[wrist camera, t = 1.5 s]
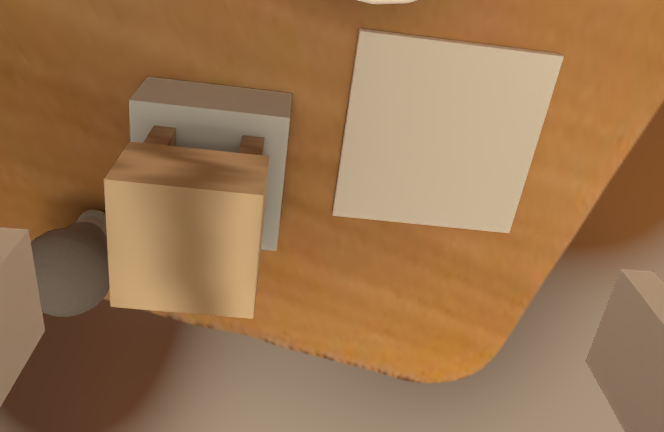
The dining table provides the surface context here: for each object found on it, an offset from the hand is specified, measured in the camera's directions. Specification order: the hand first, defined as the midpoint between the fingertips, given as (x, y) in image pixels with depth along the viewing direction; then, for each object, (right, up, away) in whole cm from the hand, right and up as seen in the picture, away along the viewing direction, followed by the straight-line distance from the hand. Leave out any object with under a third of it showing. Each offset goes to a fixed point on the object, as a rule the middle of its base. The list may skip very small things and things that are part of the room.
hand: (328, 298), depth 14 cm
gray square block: (-8, +7, +32) cm, 33 cm away
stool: (-8, +4, +27) cm, 29 cm away
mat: (+8, +8, +32) cm, 33 cm away
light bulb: (-18, +2, +34) cm, 39 cm away
